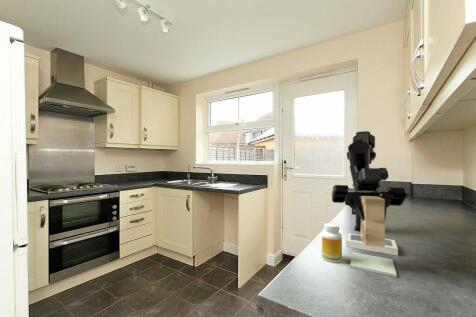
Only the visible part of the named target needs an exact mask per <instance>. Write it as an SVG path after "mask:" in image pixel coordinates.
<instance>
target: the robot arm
mask: <svg viewBox="0 0 476 317" xmlns="http://www.w3.org/2000/svg"><path fill="white" fill-rule="evenodd" d="M374 149H376V136H375V135H373V134H371V131H369V130H365V131H364V130H363V131H356V133H355V135H354V136H353V137H352V143H350V144H349V145H348V146H347V150H348V151H347V152H346V159H347V160H348V162H349V164H350V165H349V170H350V174H351V175H350V176H351V179H352V180H351V181H352V187H349V185H347V184H335V185H333V186H332V190H331V191H332V192H331V202H333V203H338V204H343V203H344V205H345V206H348V207H349V208H351V215H352V216H355V225H354V231H359V232H361V219H362V220H365V216H364V212H363V209H362V206H361V196H373V197H380V198H383V199H385V219H386V218H387V217H386V216H387V210H388V208H389V207H390V206H391V207H392V206H395V207H400V206H402V205H403V203H404V202H405V200H406V198H407V196H408V191H407V189H406V188H405V187H404V186H387V189H386V191H381V190H378V189H379V188H380V182H381V181H386V180H387V179H388V178H389V176H390V175H389V172H388V169H387V168H386V167H378V168H377V167H374V168H373V167H370V165H371V164H372V161H373V162H374V160H375V158H376V157H377V153H376V151H375V150H374Z"/></svg>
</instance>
